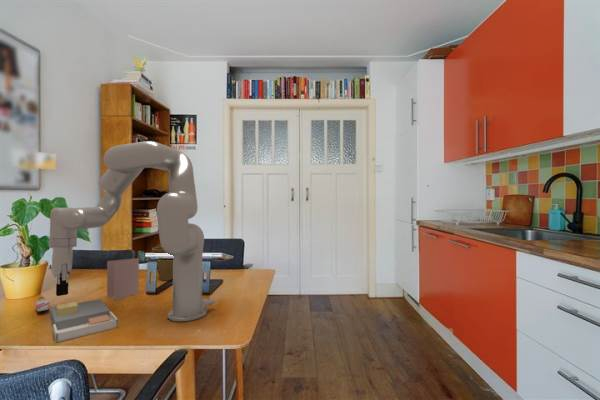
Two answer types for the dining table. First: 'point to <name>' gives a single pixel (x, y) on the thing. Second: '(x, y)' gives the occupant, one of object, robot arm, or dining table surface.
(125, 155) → the robot arm
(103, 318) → the salmon pink block
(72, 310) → the tile mustard
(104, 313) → the slate board
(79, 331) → the tray
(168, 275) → the plant pot
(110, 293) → the greeting card
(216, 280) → the dining table surface
